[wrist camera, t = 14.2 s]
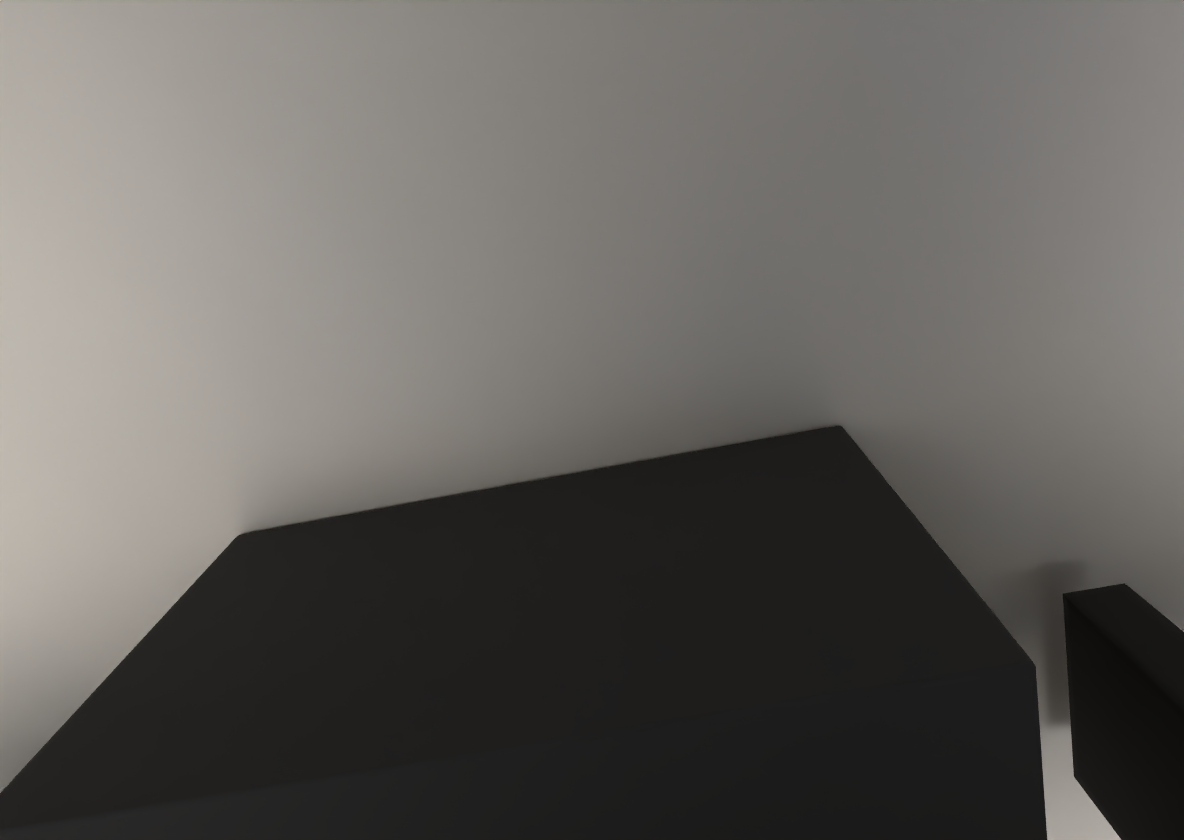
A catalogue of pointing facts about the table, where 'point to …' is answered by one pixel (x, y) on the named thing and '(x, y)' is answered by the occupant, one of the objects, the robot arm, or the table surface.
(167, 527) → the table surface
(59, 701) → the table surface
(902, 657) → the pad
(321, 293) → the table surface
